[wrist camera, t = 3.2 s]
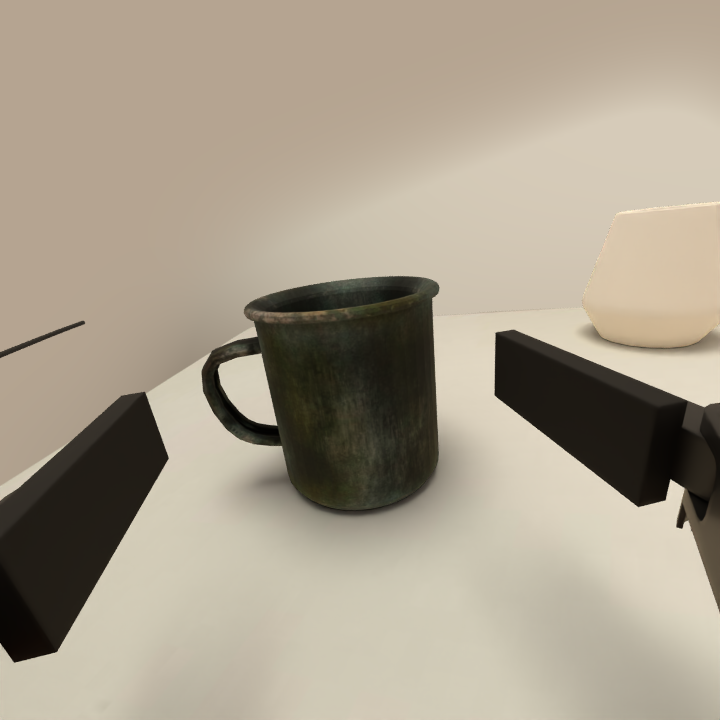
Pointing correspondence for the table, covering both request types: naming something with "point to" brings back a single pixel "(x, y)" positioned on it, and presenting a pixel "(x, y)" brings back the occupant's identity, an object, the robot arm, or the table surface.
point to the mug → (343, 387)
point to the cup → (658, 277)
